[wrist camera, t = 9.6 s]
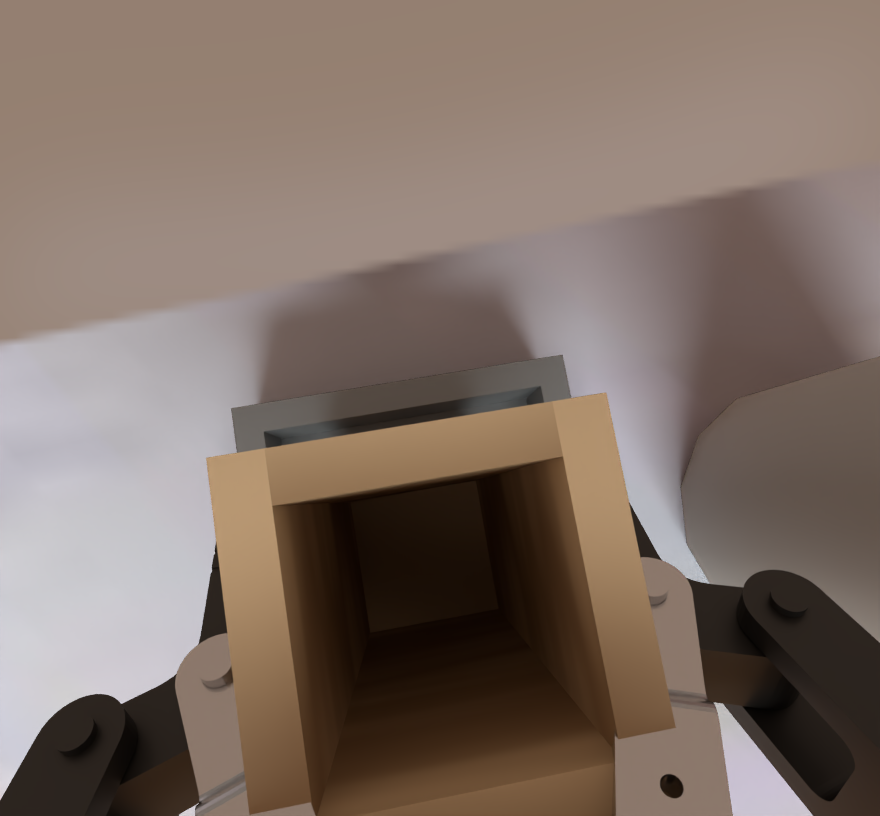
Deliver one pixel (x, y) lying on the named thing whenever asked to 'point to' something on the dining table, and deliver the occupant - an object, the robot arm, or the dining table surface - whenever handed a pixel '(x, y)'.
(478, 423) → the oak crate
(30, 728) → the dining table surface
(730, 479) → the cup
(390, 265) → the dining table surface
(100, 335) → the dining table surface
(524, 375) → the tray
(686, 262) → the dining table surface
